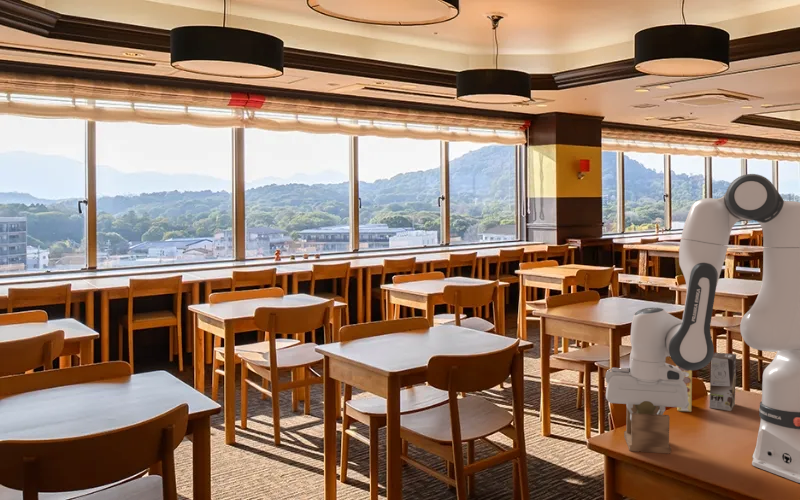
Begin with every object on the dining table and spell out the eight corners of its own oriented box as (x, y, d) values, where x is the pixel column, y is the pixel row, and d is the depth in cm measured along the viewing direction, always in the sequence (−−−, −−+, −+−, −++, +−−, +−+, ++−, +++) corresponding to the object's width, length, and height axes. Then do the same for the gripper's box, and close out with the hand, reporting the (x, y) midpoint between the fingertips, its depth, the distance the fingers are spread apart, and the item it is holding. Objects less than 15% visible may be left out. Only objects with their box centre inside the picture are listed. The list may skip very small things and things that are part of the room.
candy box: (692, 412, 204) (693, 362, 203) (677, 411, 206) (678, 361, 205) (688, 404, 213) (689, 356, 212) (674, 403, 214) (675, 355, 213)
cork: (658, 443, 173) (659, 401, 173) (634, 441, 175) (635, 400, 174) (654, 435, 179) (655, 395, 179) (631, 434, 181) (632, 394, 180)
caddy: (662, 438, 181) (663, 404, 181) (670, 453, 171) (671, 417, 170) (624, 436, 183) (624, 402, 183) (629, 450, 173) (630, 414, 172)
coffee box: (731, 411, 205) (733, 359, 204) (708, 408, 209) (710, 356, 208) (735, 404, 213) (737, 353, 212) (713, 400, 216) (714, 351, 215)
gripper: (607, 369, 175) (605, 421, 176) (690, 374, 171) (688, 427, 172) (604, 364, 181) (603, 414, 182) (685, 368, 177) (683, 419, 178)
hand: (645, 420), depth 177 cm, fingers closed on cork, 4 cm apart
